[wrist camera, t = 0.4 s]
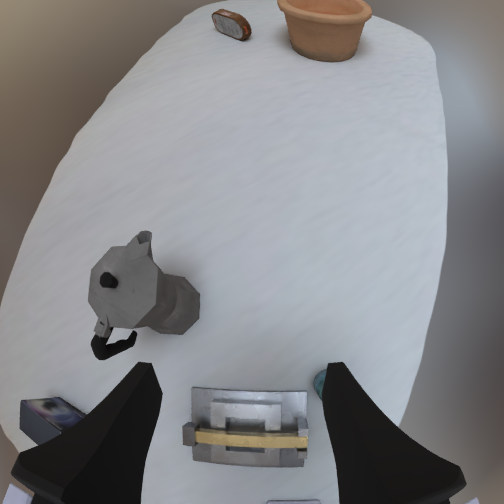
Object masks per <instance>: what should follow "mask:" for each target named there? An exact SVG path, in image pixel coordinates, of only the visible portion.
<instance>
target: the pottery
mask: <svg viewBox="0 0 504 504" xmlns="http://www.w3.org/2000/svg"><path fill="white" fill-rule="evenodd" d="M277 3H278V6H279V8H280V10H281V11H283V12H284V14H285V18H286V22H287V27H288V31H289V35H290V40H291V45H292V47H293V49H294V50H295V51H296V52H297V53H299V54H300V55H303V56H305V57H307V58H310V59H314V60H318V61H326V62H337V61H344V60H347V59H349V58H351V57H352V56H353V55H354V54H355V52H356V49H357V46H358V43H359V40H360V36H361V33H362V30H363V27H364V24H365V22H366V21H368V20H369V19H370V18H371V16H372V11H371V7H370V6H369V5H368V4H367V3H366V2H364V1H362V0H277Z"/></svg>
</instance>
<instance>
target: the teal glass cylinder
mask: <svg viewBox="0 0 504 504" xmlns="http://www.w3.org/2000/svg"><path fill="white" fill-rule="evenodd" d="M326 371H327V369H326V370H323V371H321V372H319V373H318V374H317V376H316V377H315V379H314V388H315V390H316V392H317V394H318V395H319V397H320V399H321V400H322V390H323V385H324V381H325V376H326Z"/></svg>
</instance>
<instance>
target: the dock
mask: <svg viewBox="0 0 504 504" xmlns="http://www.w3.org/2000/svg"><path fill="white" fill-rule="evenodd" d="M306 402H307V391H242V390H223V389H210V388H198V387H192V422H193V423H200V428H203V429H212V430H222V431H234V432H251V433H298V437H304V436H308V433H309V428H308V424H307V420H306ZM192 449H193V460H195V461H201V462H209V463H217V464H226V465H237V466H252V467H303V465H304V459H305V458H307V448H257V447H239V446H227V445H216V444H208V443H200V442H199V443H198V444H197V445H196V446H195V447H193V446H192Z"/></svg>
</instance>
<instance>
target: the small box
mask: <svg viewBox="0 0 504 504" xmlns="http://www.w3.org/2000/svg"><path fill="white" fill-rule="evenodd" d="M85 416H86V414H84V413H82V412H81V411H79V410H78V409H76V408H75V407H73V406H72V405H70V404H69V403H67V402H66V401H64V400H63V399H61V398H60V397H55V398H45V399H32V400H21V404H20V429H21V430H22V431H23V432H24V433H25V434H26V435H27V436H28V437H29V438H31V439H32V440H33V441H34V442H35V443H36V444H37V445H41V444H43V443H45V442H47V441H49V440H51V439H53V438H54V437H56V436H58V435H60V434H61V433H63V432H64V431H66V430H67V429H69V428H70V427H72V426H73V425H75V424H76V423H77V422H79V421H80V420H81V419H83V418H84V417H85Z"/></svg>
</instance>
